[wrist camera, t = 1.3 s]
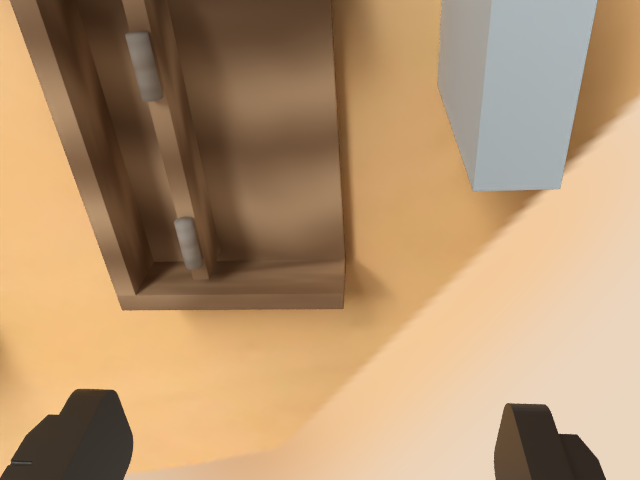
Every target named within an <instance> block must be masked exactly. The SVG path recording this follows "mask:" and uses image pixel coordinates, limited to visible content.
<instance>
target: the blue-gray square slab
mask: <svg viewBox="0 0 640 480" xmlns="http://www.w3.org/2000/svg"><path fill="white" fill-rule="evenodd" d="M597 1H598V0H442V1H441V21H440V41H439V61H438V81H437V85H438V88H439V91H440V94H441V97H442V100H443V103H444V106H445V109H446V112H447V115H448V118H449V121H450V124H451V127H452V130H453V133H454V136H455V139H456V142H457V145H458V148H459V151H460V154H461V157H462V160H463V163H464V166H465V169H466V172H467V175H468V178H469V181H470V184H471V186H472V189H473V191H510V190H547V189H560V187H561V181H562V177H563V172H564V167H565V162H566V157H567V152H568V147H569V141H570V136H571V131H572V126H573V121H574V116H575V111H576V106H577V101H578V96H579V91H580V86H581V81H582V76H583V71H584V66H585V61H586V56H587V51H588V46H589V41H590V36H591V31H592V26H593V21H594V16H595V11H596V6H597Z"/></svg>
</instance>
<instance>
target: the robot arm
mask: <svg viewBox="0 0 640 480" xmlns="http://www.w3.org/2000/svg"><path fill="white" fill-rule="evenodd" d="M132 451H133V435H132V432H131V429H130V426H129V424H128V421H127V418H126V416H125V413H124V410H123V408H122V405H121V402H120V400H119V397H118V395H117V393H116V391H114V390H102V389H77V390H75V391H74V392H73V393H72V394H71V395H70V397H69V398H68V400H67V402H66V404H65V405H64V407H63V409H62V411H61V412H60V414H59V415H47V416H46V417H45V418H44V419H43V420H42V421H41V422H40V423H39V424H38V425H37V426H36V427H35V428H34V429H33V430H31V431H30V432H29V433H28V434H27V435H26V436H25V438H24V440H23V441H22V443H21V445H20V446H19V448H18V450H17V451H16V453H15V454H14V456H13V458H12V459H11V464H10V465H8V466H7V468H6V469H5V471H4V473H3V474H2V476H1V478H0V480H123V479H124V476H125V474H126V471H127V469H128V467H129V464H130V461H131V457H132ZM494 469H495V477H496V480H606V478H605V476H604V473H603V471H602V468H601V466H600V463H599V460H598V459H597V458H596V456H595V455H594V454H593V453H592V452H591V450H590V449H589V448H588V447H587V446H586V445H585V443H584V442H583V441H582V440H581V439H580V438H579V436H578V435H572V434H558V431H557V429H556V426H555V423H554V420H553V417H552V414H551V411H550V410H549V408H548V407H547V406H546V405H542V404H510V403H507V404H506V405H505V407H504V411H503V415H502V420H501V424H500V428H499V433H498V437H497V442H496V446H495V452H494Z"/></svg>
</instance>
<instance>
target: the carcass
mask: <svg viewBox="0 0 640 480" xmlns="http://www.w3.org/2000/svg"><path fill="white" fill-rule="evenodd" d="M10 2H11V5H12V7H13V10H14V13H15V16H16V18H17V21H18V24H19V27H20V29H21V32H22V35H23V38H24V41H25V43H26V46H27V49H28V52H29V54H30V57H31V60H32V63H33V65H34V68H35V71H36V74H37V76H38V79H39V82H40V85H41V87H42V90H43V93H44V96H45V98H46V101H47V104H48V107H49V110H50V112H51V115H52V118H53V121H54V123H55V126H56V129H57V132H58V134H59V137H60V140H61V143H62V145H63V148H64V151H65V154H66V156H67V159H68V162H69V165H70V167H71V170H72V173H73V176H74V179H75V181H76V184H77V187H78V190H79V192H80V195H81V198H82V201H83V203H84V206H85V209H86V212H87V214H88V217H89V220H90V223H91V225H92V228H93V231H94V234H95V237H96V239H97V242H98V245H99V248H100V250H101V253H102V256H103V259H104V261H105V264H106V267H107V270H108V272H109V275H110V278H111V281H112V283H113V286H114V289H115V292H116V294H117V297H118V300H119V303H120V306H121V308H122V310H249V309H343V308H344V290H345V271H346V258H345V240H344V222H343V204H342V186H341V168H340V150H339V132H338V114H337V96H336V78H335V60H334V42H333V24H332V6H331V0H10Z"/></svg>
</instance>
